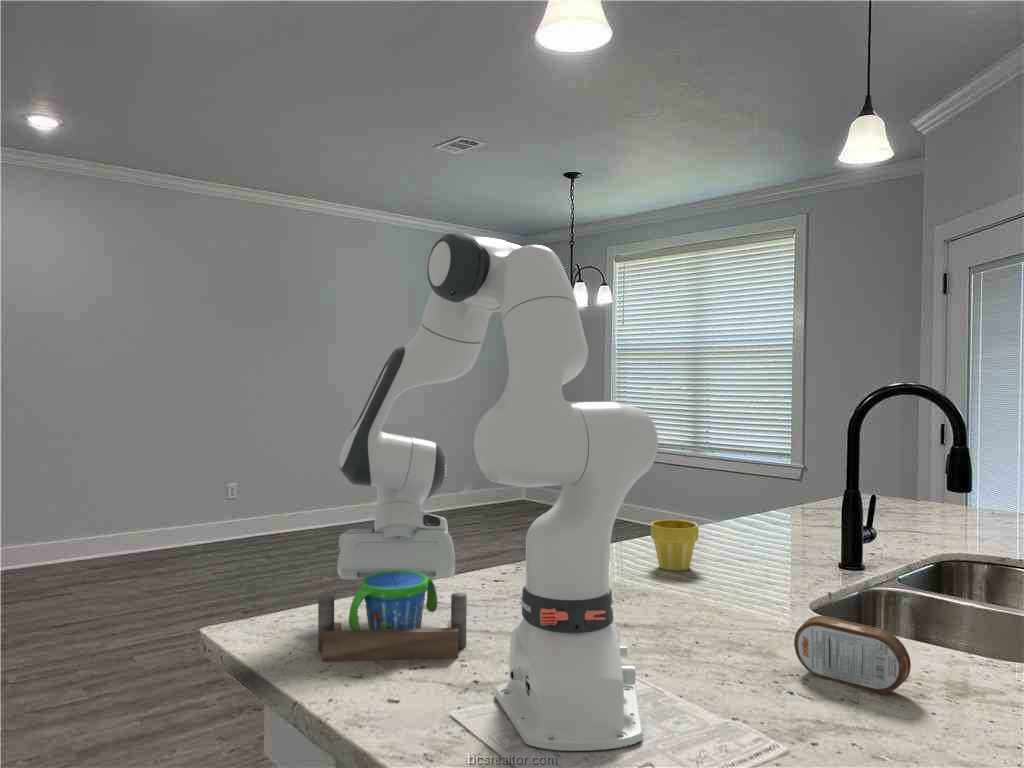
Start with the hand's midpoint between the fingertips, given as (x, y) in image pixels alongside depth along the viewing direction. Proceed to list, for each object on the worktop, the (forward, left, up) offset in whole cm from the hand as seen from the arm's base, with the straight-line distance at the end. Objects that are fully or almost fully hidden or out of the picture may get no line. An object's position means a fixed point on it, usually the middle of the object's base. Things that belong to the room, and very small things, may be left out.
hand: (395, 599), depth 128 cm
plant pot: (+36, -59, -5) cm, 69 cm away
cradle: (-10, 0, -5) cm, 11 cm away
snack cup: (-8, 0, -5) cm, 9 cm away
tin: (-28, -64, -5) cm, 70 cm away
